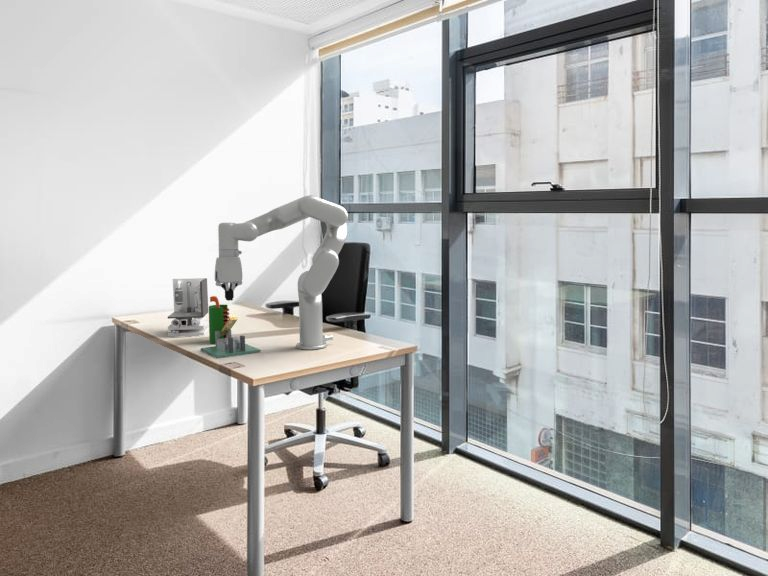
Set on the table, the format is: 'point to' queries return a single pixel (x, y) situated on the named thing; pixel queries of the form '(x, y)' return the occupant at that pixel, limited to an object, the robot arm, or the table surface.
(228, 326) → the strap
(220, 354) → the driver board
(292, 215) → the robot arm
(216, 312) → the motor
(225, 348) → the heat sink
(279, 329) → the table surface
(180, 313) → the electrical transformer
